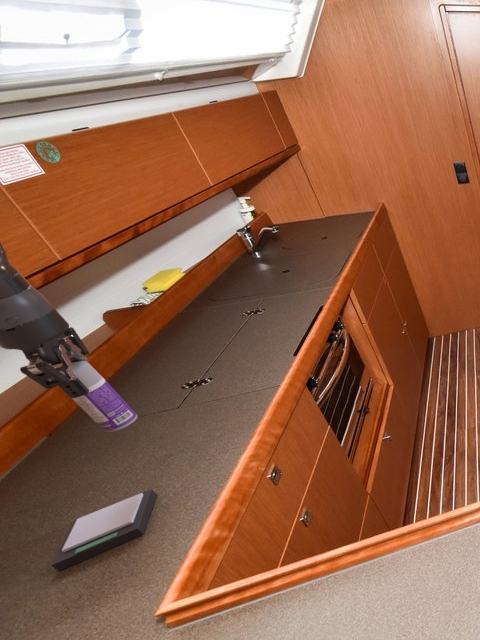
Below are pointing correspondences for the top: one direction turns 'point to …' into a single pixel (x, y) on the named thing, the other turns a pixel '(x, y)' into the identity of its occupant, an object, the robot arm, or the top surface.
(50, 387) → the robot arm
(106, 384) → the container
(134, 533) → the scale
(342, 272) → the top surface
